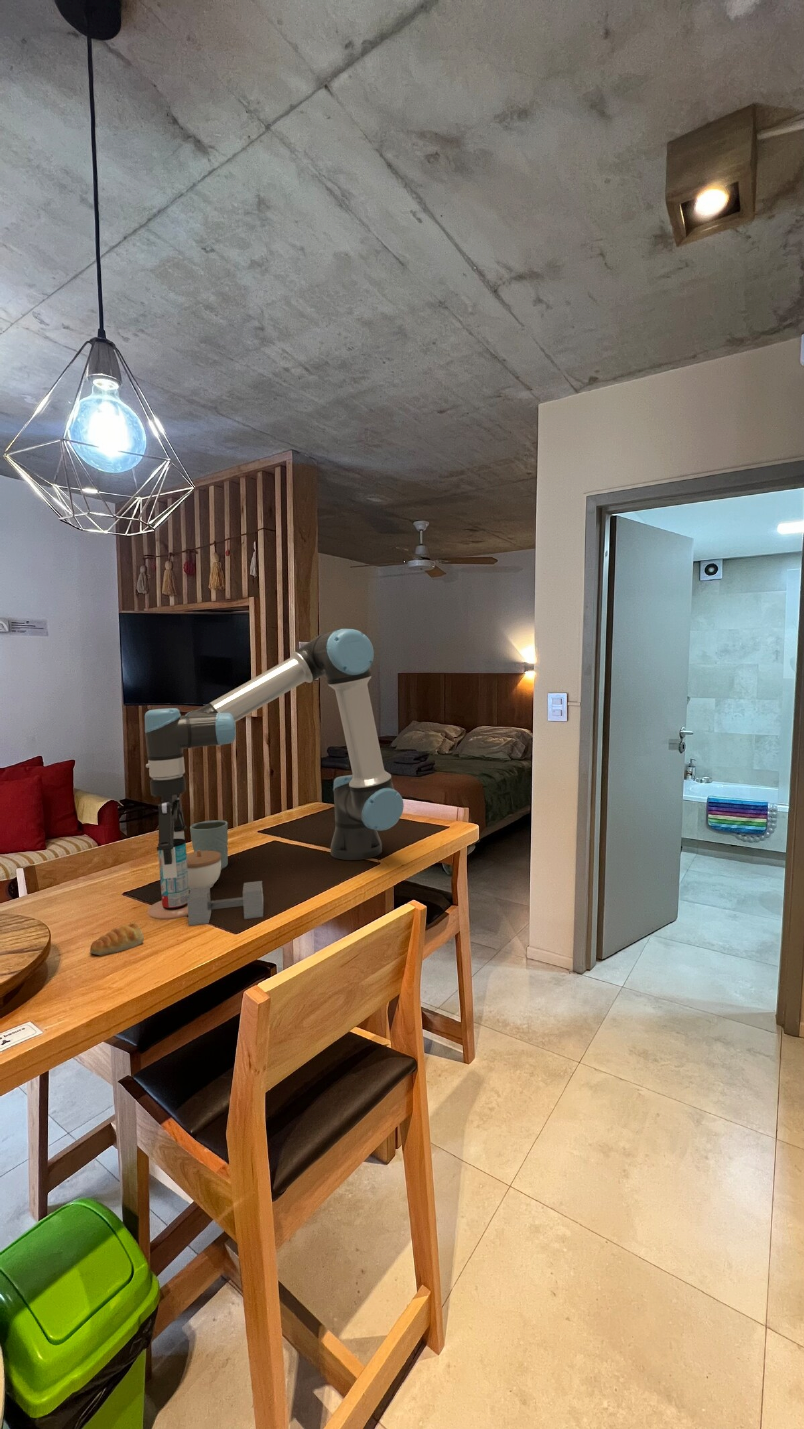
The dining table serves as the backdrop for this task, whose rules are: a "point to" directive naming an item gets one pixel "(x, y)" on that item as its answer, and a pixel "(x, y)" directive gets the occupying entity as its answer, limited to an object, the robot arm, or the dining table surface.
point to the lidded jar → (203, 868)
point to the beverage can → (175, 879)
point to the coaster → (166, 912)
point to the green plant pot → (211, 838)
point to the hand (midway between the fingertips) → (175, 867)
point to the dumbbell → (224, 903)
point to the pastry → (118, 940)
